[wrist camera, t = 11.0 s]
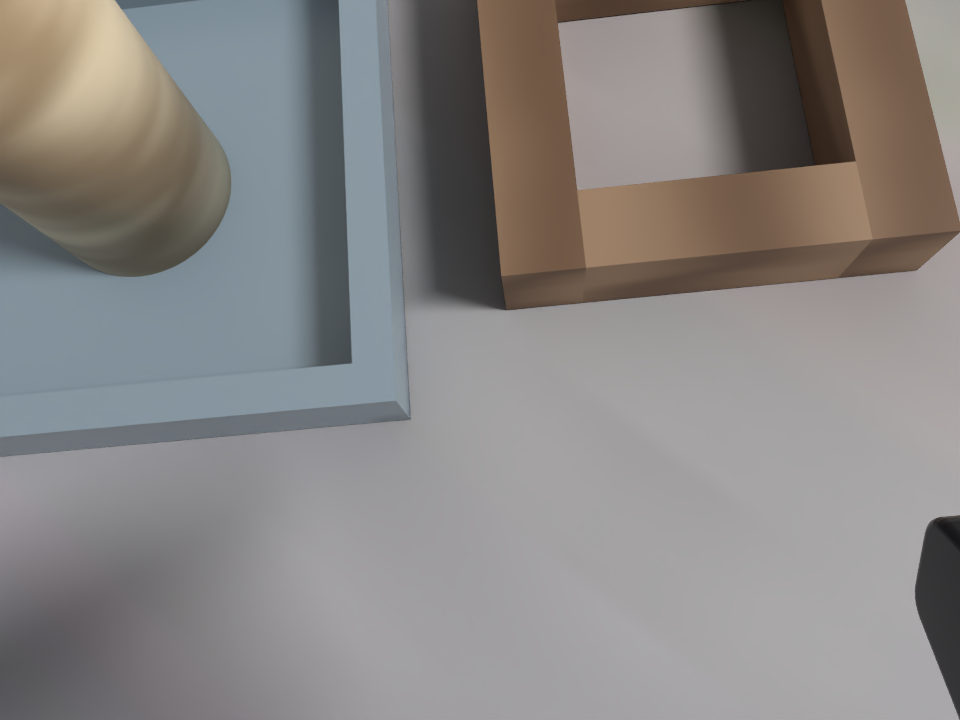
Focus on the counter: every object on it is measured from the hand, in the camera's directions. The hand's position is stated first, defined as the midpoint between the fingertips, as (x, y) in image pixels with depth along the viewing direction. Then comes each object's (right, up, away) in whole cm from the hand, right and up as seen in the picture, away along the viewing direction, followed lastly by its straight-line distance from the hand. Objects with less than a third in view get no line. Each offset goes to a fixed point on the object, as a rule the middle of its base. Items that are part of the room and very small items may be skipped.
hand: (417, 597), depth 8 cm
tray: (-9, +7, +17) cm, 20 cm away
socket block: (+6, +9, +16) cm, 19 cm away
